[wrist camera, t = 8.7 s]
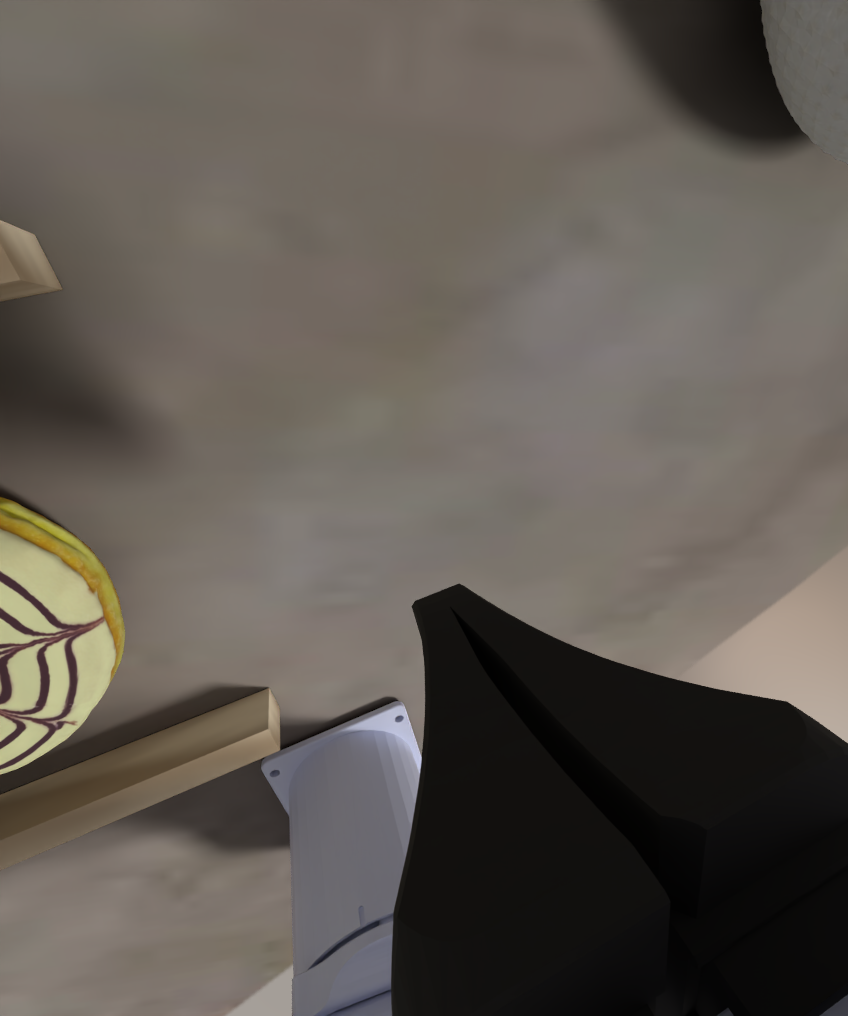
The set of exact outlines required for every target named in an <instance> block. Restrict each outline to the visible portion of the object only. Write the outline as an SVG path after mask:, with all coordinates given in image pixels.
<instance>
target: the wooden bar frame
mask: <svg viewBox="0 0 848 1016" xmlns="http://www.w3.org/2000/svg"><path fill="white" fill-rule="evenodd" d="M59 290H63V289H62V287H61V285H60V283H59V281H58V279H57V277H56V275H55V273H54V271H53V269H52V267H51V265H50V264H49V262H48V260H47V258H46V256H45V254H44V252H43V250H42V248H41V246H40V244H39V242H38V240H37V238H36V237H35V235H34V234H32V233H29V232H27V231H25V230H22V229H20V228H18V227H15V226H13V225H11V224H8V223H6V222H4V221H1V220H0V302H1V301H6V300H12V299H17V298H22V297H27V296H33V295H38V294H43V293H48V292H54V291H59ZM278 751H280V708H279V706H278V704H277V702H276V700H275V698H274V696H273V694H272V692H271V690H270V689H269V688H268V689H265V690H263V691H260V692H258V693H255V694H253V695H250V696H248V697H245V698H243V699H240V700H238V701H235V702H233V703H230V704H228V705H225V706H222V707H220V708H217V709H215V710H212V711H210V712H207V713H205V714H202V715H200V716H197V717H195V718H192V719H190V720H187V721H185V722H182V723H180V724H177V725H175V726H172V727H170V728H167V729H165V730H162V731H160V732H157V733H154V734H152V735H149V736H147V737H144V738H142V739H139V740H137V741H134V742H132V743H129V744H127V745H124V746H122V747H119V748H117V749H114V750H112V751H109V752H107V753H104V754H102V755H99V756H97V757H94V758H92V759H89V760H86V761H84V762H81V763H79V764H76V765H74V766H71V767H69V768H66V769H64V770H61V771H59V772H56V773H54V774H51V775H49V776H46V777H44V778H41V779H39V780H36V781H34V782H31V783H29V784H26V785H24V786H21V787H18V788H16V789H13V790H11V791H8V792H6V793H3V794H1V795H0V870H2V869H5V868H7V867H9V866H12V865H14V864H16V863H19V862H21V861H23V860H26V859H28V858H30V857H33V856H35V855H37V854H40V853H42V852H44V851H47V850H49V849H51V848H54V847H56V846H58V845H61V844H63V843H65V842H68V841H70V840H72V839H75V838H77V837H79V836H82V835H84V834H86V833H89V832H91V831H93V830H96V829H98V828H100V827H103V826H105V825H107V824H110V823H112V822H114V821H117V820H119V819H121V818H124V817H126V816H128V815H131V814H133V813H135V812H138V811H140V810H142V809H145V808H147V807H149V806H152V805H154V804H156V803H159V802H161V801H163V800H166V799H168V798H170V797H173V796H175V795H177V794H180V793H182V792H184V791H187V790H189V789H191V788H194V787H196V786H198V785H201V784H203V783H205V782H208V781H210V780H212V779H215V778H217V777H219V776H222V775H224V774H226V773H229V772H231V771H233V770H236V769H238V768H240V767H243V766H245V765H247V764H250V763H252V762H254V761H257V760H259V759H261V758H264V757H266V756H268V755H271V754H273V753H275V752H278Z"/></svg>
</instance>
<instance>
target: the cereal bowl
mask: <svg viewBox="0 0 848 1016" xmlns="http://www.w3.org/2000/svg"><path fill="white" fill-rule="evenodd" d="M760 5H761V8H762V19H761V20H762V23H763V34H764V36H765V38H766V48H767V51H768V53H769V62H770V64H771V66H772V73H773V75H774V77H775V79H776V85H777V87H778V89H779V92H780V94H781V96H782V98H783V101H784V104H785V105H786V107H787V109H788V111H789V112H790V114H791V116H792V117H793V118H794V121H795V122H796V123H797V124H798V125H799V127H800V128H801V130H802V131H803V132H804V133H805V134H806V135H808V136H809V138H810V140H811V141H812V143H814V144H816V145H818V146H819V147H820V148H821V149H822V151H823V152H824V153H827V154H830V155H832V156H833V157H834V158H835V159H836V160H839V161H843V162H845V163H846V164H848V0H760Z"/></svg>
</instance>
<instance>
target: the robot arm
mask: <svg viewBox="0 0 848 1016" xmlns="http://www.w3.org/2000/svg"><path fill="white" fill-rule="evenodd" d="M412 609H413V612H414V615H415V619H416V622H417V625H418V629H419V632H420V635H421V639H422V645H423V655H424V666H425V723H424V739H423V749H422V757H421V754H420V751H419V748H418V745H417V742H416V739H415V736H414V733H413V730H412V727H411V724H410V721H409V718H408V715H407V712H406V709H405V706H404V704H403V702H400V701H395V702H392V703H390V704H388V705H385V706H383V707H381V708H378V709H376V710H374V711H371V712H369V713H367V714H364V715H362V716H360V717H357V718H355V719H353V720H350V721H348V722H346V723H343V724H341V725H339V726H336V727H334V728H332V729H329V730H327V731H325V732H322V733H320V734H318V735H315V736H313V737H311V738H308V739H306V740H304V741H301V742H299V743H297V744H294V745H292V746H290V747H287V748H285V749H283V750H280V751H278V752H276V753H273V754H271V755H269V756H267V757H265V758H264V759H263V760H262V763H261V770H262V772H263V774H264V775H265V777H266V779H267V780H268V782H269V784H270V785H271V787H272V789H273V790H274V792H275V794H276V795H277V797H278V799H279V800H280V802H281V804H282V805H283V807H284V809H285V810H286V812H287V814H288V815H289V821H290V858H291V896H292V933H293V970H294V977H293V979H292V1016H848V743H846V742H845V741H844V740H842V739H841V738H839V737H838V736H837V735H835V734H834V733H832V732H831V731H830V730H828V729H827V728H825V727H824V726H823V725H821V724H820V723H819V722H817V721H816V720H814V719H813V718H811V717H810V716H808V715H807V714H805V713H804V712H802V711H801V710H799V709H797V708H796V707H794V706H793V705H791V704H790V703H788V702H786V701H780V700H775V699H769V698H763V697H758V696H752V695H746V694H741V693H735V692H730V691H724V690H719V689H714V688H709V687H705V686H701V685H697V684H692V683H688V682H684V681H680V680H676V679H672V678H668V677H664V676H661V675H657V674H653V673H650V672H647V671H643V670H640V669H637V668H634V667H630V666H627V665H624V664H620V663H617V662H614V661H611V660H609V659H606V658H603V657H600V656H597V655H595V654H592V653H590V652H587V651H584V650H582V649H579V648H577V647H574V646H572V645H570V644H567V643H565V642H563V641H561V640H559V639H556V638H554V637H552V636H550V635H548V634H546V633H544V632H542V631H540V630H538V629H536V628H534V627H532V626H530V625H528V624H526V623H524V622H523V621H521V620H519V619H517V618H515V617H514V616H512V615H510V614H508V613H506V612H505V611H503V610H501V609H500V608H498V607H496V606H495V605H493V604H491V603H490V602H488V601H486V600H485V599H483V598H482V597H480V596H478V595H477V594H475V593H474V592H472V591H471V590H469V589H468V588H466V587H465V586H463V585H461V584H457V585H454V586H452V587H449V588H447V589H444V590H442V591H439V592H437V593H434V594H432V595H429V596H427V597H424V598H422V599H419V600H416V601H415V602H414V604H413V605H412ZM399 715H400V716H399ZM397 716H399V717H397ZM273 770H274V771H273Z"/></svg>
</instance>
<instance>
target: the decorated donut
mask: <svg viewBox="0 0 848 1016" xmlns="http://www.w3.org/2000/svg"><path fill="white" fill-rule="evenodd" d="M121 614H122V613H121V607H120V601H119V598H118V595H117V593H116V589H115V588H114V586H113V583H112V581H111V579H110V577H109V574H108V572H107V571H106V569H105V567H104V566H103V564H102V563H101V562H100V560H99V559H98V558H97V557H96V555H95V554H94V552H93V551H92V550H91V549H90V548H89V547H88V546H87V545H86V544H85V543H84V542H82V541H81V540H79V539H78V538H77V536H75V535H73V534H72V533H71V532H69V531H67V530H65V529H64V528H62V527H61V526H59V525H57V524H55V523H53V522H52V521H50V520H48V519H46V518H45V517H44V516H42V515H40V514H38V513H36V512H34V511H31V510H29V509H27V508H25V507H23V506H21V505H20V504H18V503H16V502H14V501H12V500H8V499H5V498H3V497H0V774H4V773H7V772H10V771H13V770H15V769H18V768H20V767H22V766H24V765H26V764H28V763H30V762H32V761H33V760H35V759H37V758H38V757H40V756H42V755H44V754H45V753H47V752H48V751H50V750H51V749H52V748H54V747H55V746H57V745H58V744H60V743H61V742H63V741H65V740H66V739H67V738H69V737H70V736H71V734H72V733H74V732H75V731H76V730H77V729H78V728H79V727H80V726H81V725H82V723H83V722H84V721H85V720H86V719H87V717H88V715H89V714H90V712H91V710H92V709H93V708H94V707H95V706H96V705H97V703H98V702H99V700H100V699H101V698H102V696H103V695H104V693H105V691H106V690H107V688H108V686H109V684H110V682H111V680H112V678H113V676H114V674H115V673H116V670H117V668H118V665H119V664H120V662H121V658H122V653H123V652H124V651H123V647H124V640H125V628H124V623H123V617H122V615H121Z"/></svg>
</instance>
